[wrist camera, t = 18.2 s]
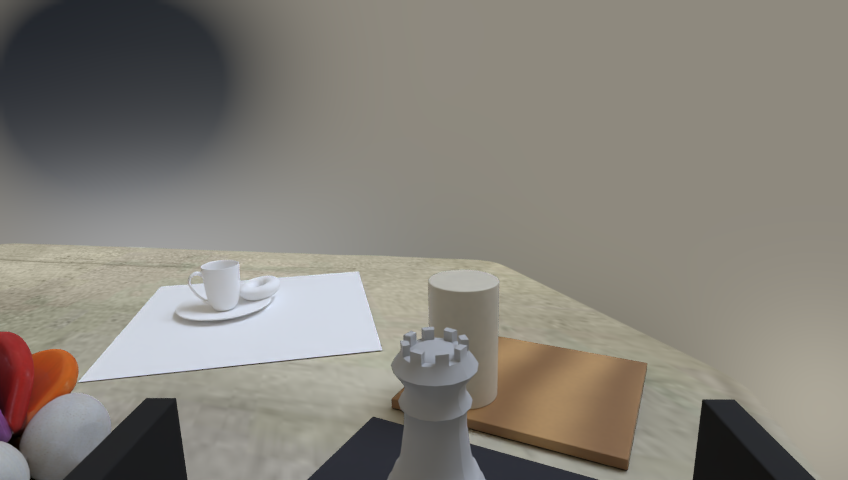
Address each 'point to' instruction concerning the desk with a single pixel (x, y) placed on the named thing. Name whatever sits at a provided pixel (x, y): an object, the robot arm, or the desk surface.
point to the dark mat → (381, 446)
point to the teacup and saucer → (241, 323)
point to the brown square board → (563, 401)
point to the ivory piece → (470, 322)
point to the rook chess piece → (435, 407)
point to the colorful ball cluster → (44, 413)
